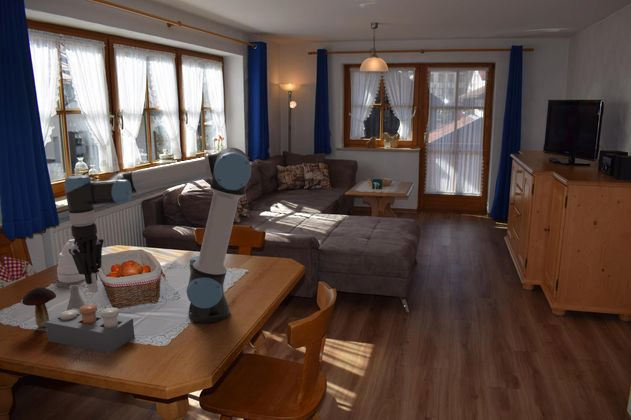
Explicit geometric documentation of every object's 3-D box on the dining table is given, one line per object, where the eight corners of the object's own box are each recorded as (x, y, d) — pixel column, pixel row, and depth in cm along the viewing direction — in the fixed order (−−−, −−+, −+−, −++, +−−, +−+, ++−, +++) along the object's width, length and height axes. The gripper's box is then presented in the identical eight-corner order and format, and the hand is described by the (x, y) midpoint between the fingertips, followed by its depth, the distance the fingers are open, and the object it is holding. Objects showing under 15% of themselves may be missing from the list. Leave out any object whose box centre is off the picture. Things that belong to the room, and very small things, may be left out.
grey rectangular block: (134, 337, 180) (132, 318, 178) (110, 353, 169) (107, 333, 167) (75, 326, 189) (73, 308, 187) (48, 341, 178) (45, 322, 176)
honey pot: (95, 275, 239) (90, 237, 235) (69, 284, 229) (64, 245, 225) (78, 270, 246) (73, 233, 242) (52, 279, 236) (47, 240, 231)
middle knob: (103, 326, 180) (100, 305, 178) (91, 333, 174) (88, 311, 173) (90, 323, 181) (87, 303, 180) (77, 330, 176) (75, 309, 175)
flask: (79, 315, 198) (76, 290, 196) (62, 313, 199) (59, 289, 197) (91, 307, 205) (88, 283, 203) (74, 306, 206) (71, 282, 204)
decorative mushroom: (37, 336, 181) (31, 296, 178) (19, 328, 187) (13, 289, 184) (66, 324, 190) (61, 285, 187) (48, 317, 196) (43, 280, 193)
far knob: (83, 331, 183) (81, 311, 182) (71, 338, 178) (68, 317, 176) (71, 329, 185) (68, 308, 183) (58, 336, 180) (55, 315, 178)
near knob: (124, 329, 176) (122, 308, 175) (112, 337, 171) (110, 315, 170) (111, 327, 178) (108, 306, 177) (99, 334, 173) (96, 313, 171)
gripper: (89, 217, 176) (99, 283, 181) (58, 228, 164) (69, 297, 170) (107, 219, 173) (116, 285, 179) (76, 229, 161) (87, 300, 167)
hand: (93, 291), depth 174 cm, fingers closed
